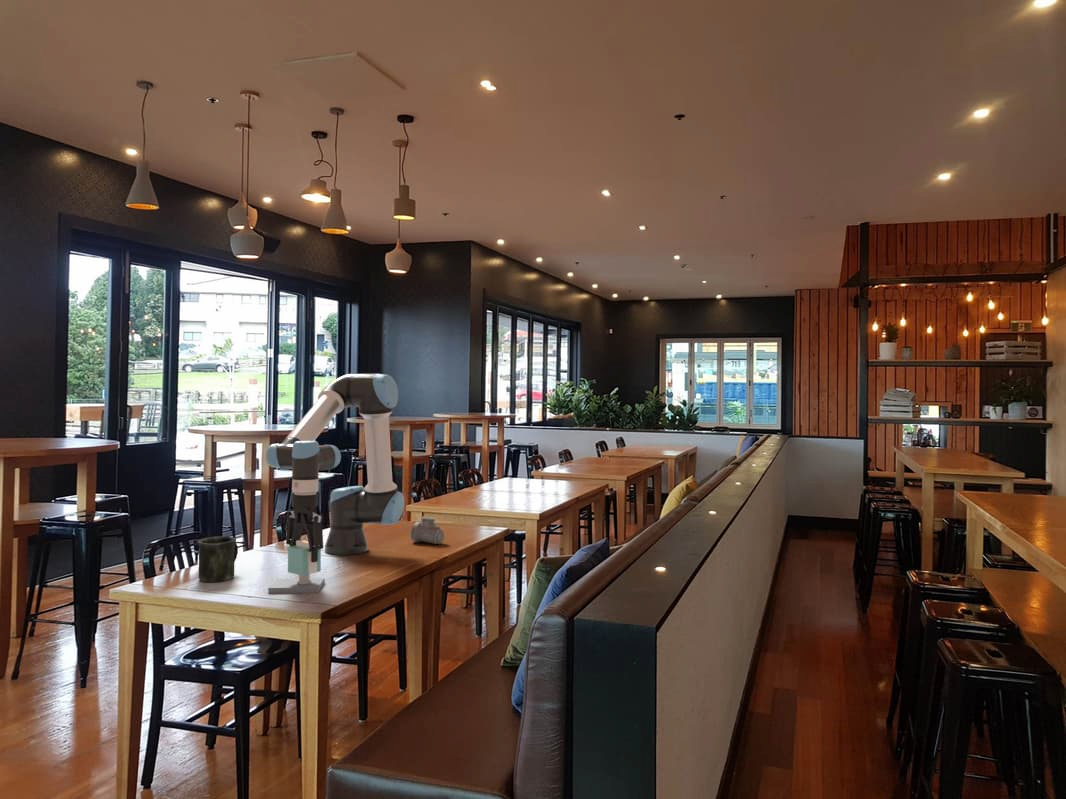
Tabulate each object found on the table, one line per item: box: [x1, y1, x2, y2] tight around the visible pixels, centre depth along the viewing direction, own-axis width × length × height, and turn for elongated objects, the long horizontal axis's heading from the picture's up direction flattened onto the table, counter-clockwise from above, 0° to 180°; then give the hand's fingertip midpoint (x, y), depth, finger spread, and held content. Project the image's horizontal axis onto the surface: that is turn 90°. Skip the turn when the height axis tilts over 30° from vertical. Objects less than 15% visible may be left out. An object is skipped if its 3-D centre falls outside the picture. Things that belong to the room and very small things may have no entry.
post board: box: [267, 574, 326, 594], centre depth 228 cm, size 11×14×6 cm
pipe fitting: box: [410, 516, 445, 545], centre depth 295 cm, size 12×8×10 cm, turn 62°
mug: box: [197, 536, 239, 583], centre depth 238 cm, size 11×15×12 cm
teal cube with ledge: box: [287, 539, 322, 576], centre depth 228 cm, size 7×7×9 cm
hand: (304, 570), depth 228 cm, fingers closed on teal cube with ledge, 7 cm apart
